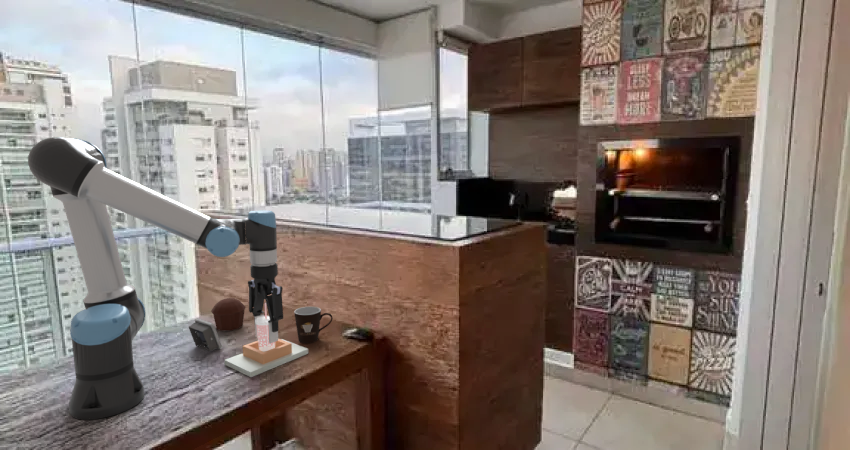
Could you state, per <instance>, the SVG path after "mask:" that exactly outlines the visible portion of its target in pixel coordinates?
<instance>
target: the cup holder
mask: <svg viewBox="0 0 850 450" xmlns="http://www.w3.org/2000/svg"><path fill="white" fill-rule="evenodd" d="M307 354H309V348H307V347H306V346H305V347H304V346H302V345H299V344H296V343H294V342H292V341H289V340H285V339H283V338H278V341H276V342H275V348H273V349H271V350H268V351H261V350H259V344H258V340H256V341H253V342H250V343H247V344H245V345H242V353H240V354H236V355H234V356H231V357H228V358H225V359H224V365H225V366H226V367H229V368H231V369H233V370H235V371H237V372H240V373H241V374H243V375H245V376H247V377H250V378H252V377H255V376H257V375H260V374H262V373H265V372H268V371H270V370H272V369H275V368H277V367H280V366H281V365H284V364H285V363H286V364H288V363H289V362H292V361H293V360H296V359H298V358H301V357H303V356H306V355H307Z"/></svg>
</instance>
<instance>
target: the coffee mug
mask: <svg viewBox="0 0 850 450" xmlns="http://www.w3.org/2000/svg"><path fill="white" fill-rule="evenodd" d="M321 313H322V309H321V308H320V307H319V306H303V307H299V308H296V309H295V310H294V311H293V314H294V320H295V326H296V331H297V332H296V333H297V339H298V342H299V343H301V344H311V343H315V342H317V341H318V340H319V333H320V332H321V331H322V330H324V329H325V328H327V327H328V326H329V325H330V324H331V323H332V321H333V316H332V313H330V312H325V313H322V314H321ZM324 316H329V317H330V321H329V322H328V323H327V324H325V325H324V326H322V327H321V328H320V325H321V324H320V323H321V320H322V318H323V317H324Z"/></svg>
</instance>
